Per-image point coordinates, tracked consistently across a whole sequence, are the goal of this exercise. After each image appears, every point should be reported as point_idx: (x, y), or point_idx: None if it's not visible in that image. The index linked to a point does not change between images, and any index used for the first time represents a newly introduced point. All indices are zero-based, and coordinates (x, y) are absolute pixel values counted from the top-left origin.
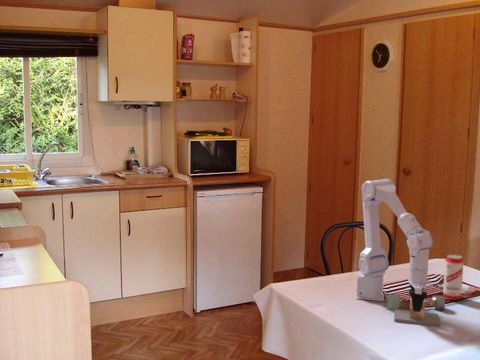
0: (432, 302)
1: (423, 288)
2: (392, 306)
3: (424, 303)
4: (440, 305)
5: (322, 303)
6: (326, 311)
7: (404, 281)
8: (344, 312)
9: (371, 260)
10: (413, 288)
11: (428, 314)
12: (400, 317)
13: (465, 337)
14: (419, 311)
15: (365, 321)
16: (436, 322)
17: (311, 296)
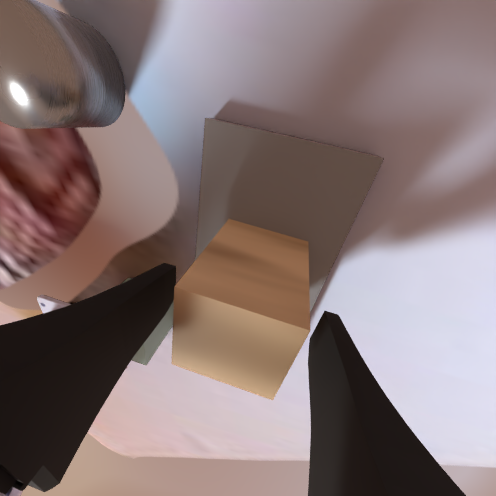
0: (69, 125)
1: (63, 344)
2: (166, 320)
3: (308, 323)
4: (85, 59)
5: (179, 431)
6: (226, 441)
7: None
8: (226, 419)
9: None
10: (97, 396)
11: (228, 190)
12: None
13: None
14: (340, 321)
15: (288, 406)
16: (362, 174)
17: (146, 431)
